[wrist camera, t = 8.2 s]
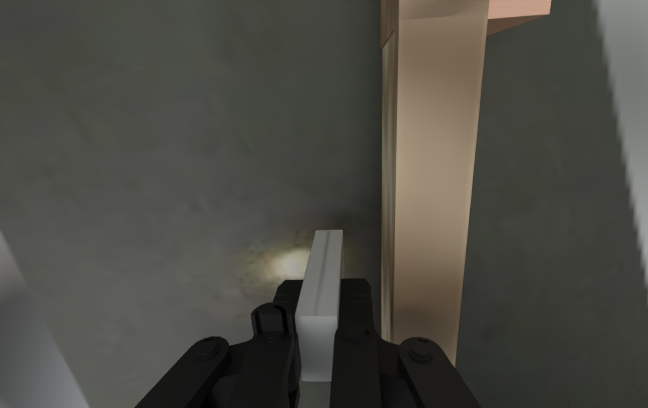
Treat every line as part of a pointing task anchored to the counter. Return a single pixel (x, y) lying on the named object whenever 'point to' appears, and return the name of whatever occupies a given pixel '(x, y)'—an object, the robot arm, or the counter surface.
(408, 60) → the gate
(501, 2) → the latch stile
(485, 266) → the counter surface
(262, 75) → the counter surface
